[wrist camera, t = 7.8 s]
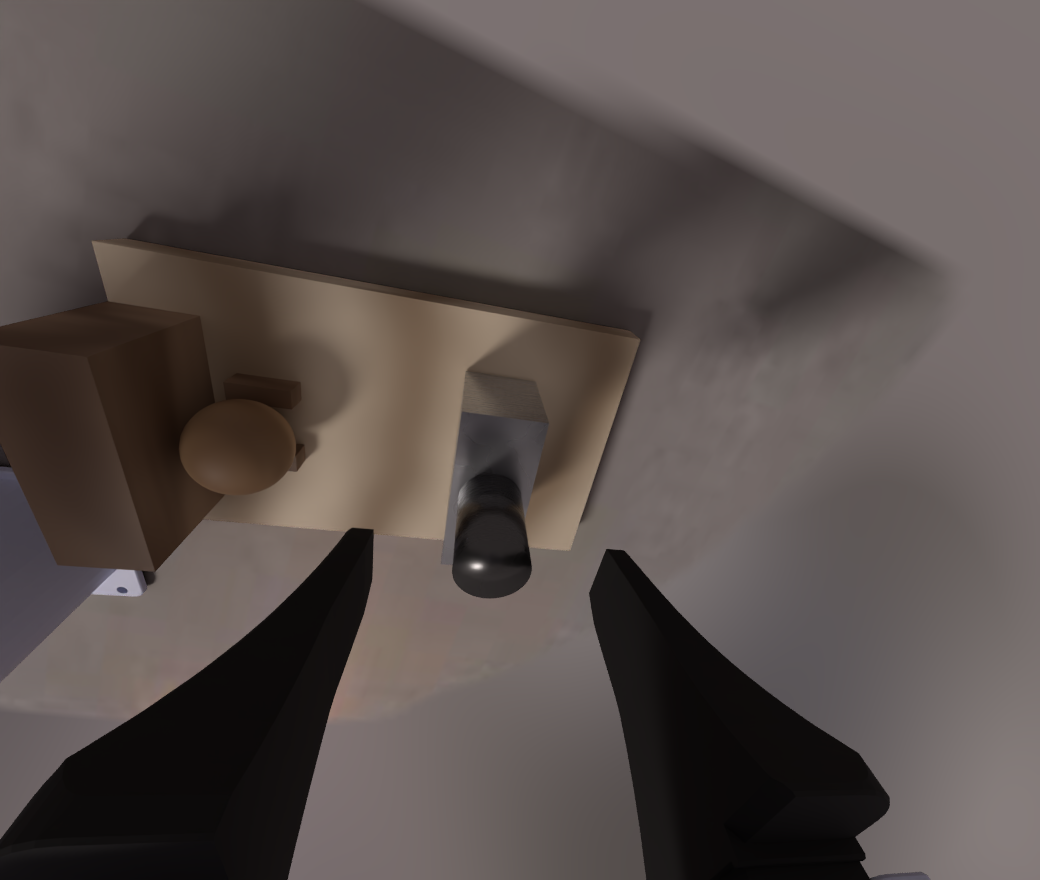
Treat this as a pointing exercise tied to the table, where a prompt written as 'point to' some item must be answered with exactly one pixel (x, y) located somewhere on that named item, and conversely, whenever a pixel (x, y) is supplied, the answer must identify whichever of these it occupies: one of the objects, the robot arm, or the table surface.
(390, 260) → the table surface
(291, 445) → the walnut
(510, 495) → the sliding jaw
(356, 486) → the base
